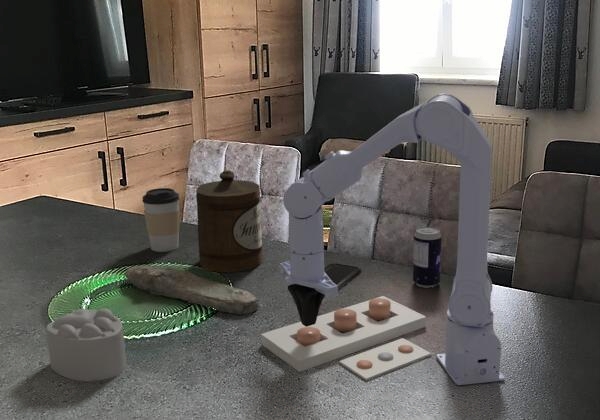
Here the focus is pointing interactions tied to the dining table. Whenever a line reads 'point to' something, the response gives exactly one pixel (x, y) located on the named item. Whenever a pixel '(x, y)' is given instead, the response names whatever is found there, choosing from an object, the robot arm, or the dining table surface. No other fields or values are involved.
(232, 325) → the dining table surface
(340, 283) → the phone
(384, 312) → the button
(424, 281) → the beverage can
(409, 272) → the dining table surface
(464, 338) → the robot arm
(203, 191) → the wooden container
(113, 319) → the lumpy-topped squat cylinder
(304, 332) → the button
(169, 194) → the coffee cup
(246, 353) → the dining table surface
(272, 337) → the button board
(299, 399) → the dining table surface
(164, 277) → the long grey stone
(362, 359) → the pattern card
